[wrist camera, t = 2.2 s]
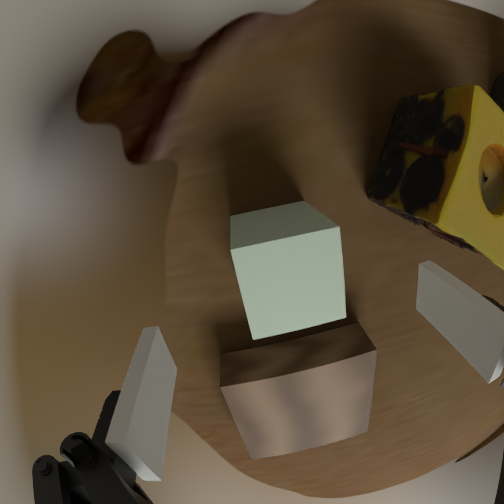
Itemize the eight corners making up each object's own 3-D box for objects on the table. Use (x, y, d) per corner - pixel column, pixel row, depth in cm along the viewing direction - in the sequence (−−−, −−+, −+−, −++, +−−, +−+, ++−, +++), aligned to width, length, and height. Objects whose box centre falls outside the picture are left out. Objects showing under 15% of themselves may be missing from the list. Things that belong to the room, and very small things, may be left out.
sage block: (304, 200, 23) (339, 226, 15) (313, 268, 25) (346, 317, 18) (230, 216, 23) (230, 249, 15) (245, 283, 25) (252, 339, 18)
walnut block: (356, 320, 28) (376, 349, 23) (354, 403, 33) (367, 431, 28) (220, 351, 28) (220, 387, 23) (249, 428, 33) (252, 459, 28)
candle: (437, 237, 25) (506, 276, 16) (361, 199, 23) (432, 232, 14) (468, 147, 22) (542, 159, 13) (397, 95, 20) (476, 80, 11)
